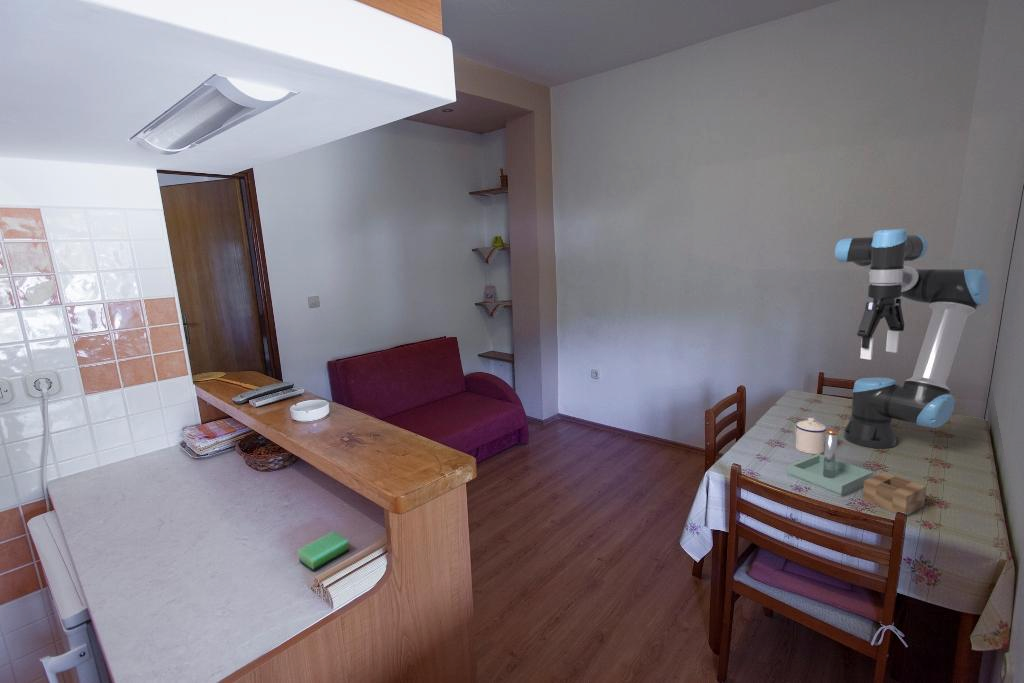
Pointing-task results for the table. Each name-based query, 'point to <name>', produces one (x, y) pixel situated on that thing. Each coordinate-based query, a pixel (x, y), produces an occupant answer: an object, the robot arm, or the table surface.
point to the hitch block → (894, 493)
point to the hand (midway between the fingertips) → (879, 355)
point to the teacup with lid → (810, 436)
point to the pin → (830, 453)
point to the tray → (840, 485)
